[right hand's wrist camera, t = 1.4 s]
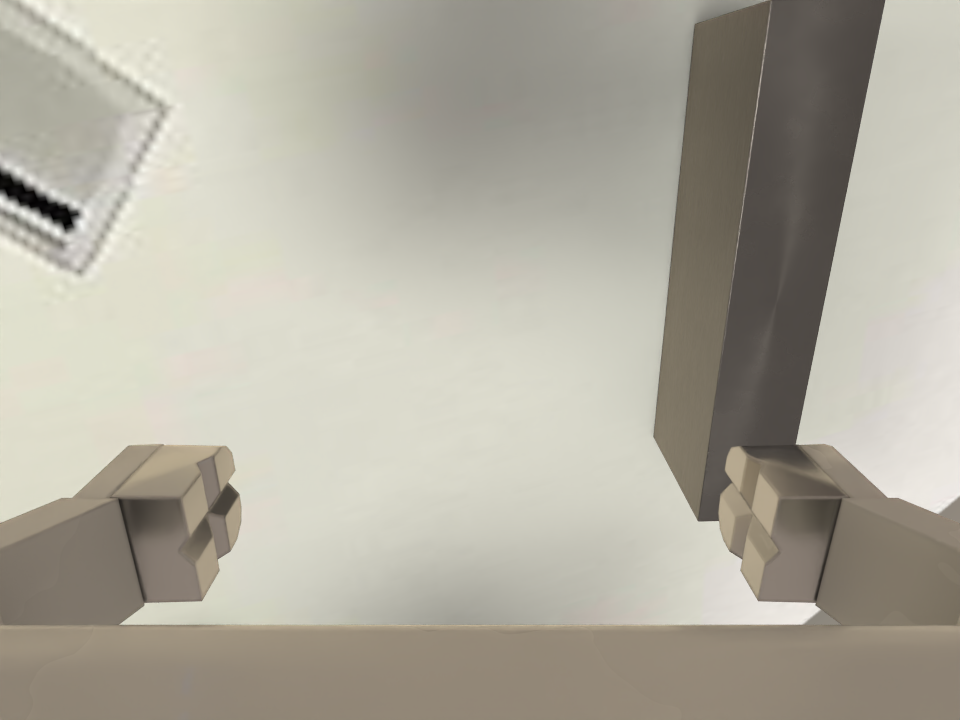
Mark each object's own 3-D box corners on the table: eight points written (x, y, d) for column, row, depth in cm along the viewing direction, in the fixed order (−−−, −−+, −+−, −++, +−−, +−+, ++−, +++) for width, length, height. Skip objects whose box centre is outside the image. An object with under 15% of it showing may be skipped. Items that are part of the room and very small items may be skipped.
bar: (694, 23, 32) (771, -1, 24) (780, 21, 32) (886, -4, 24) (653, 437, 42) (697, 521, 34) (719, 435, 42) (780, 519, 34)
